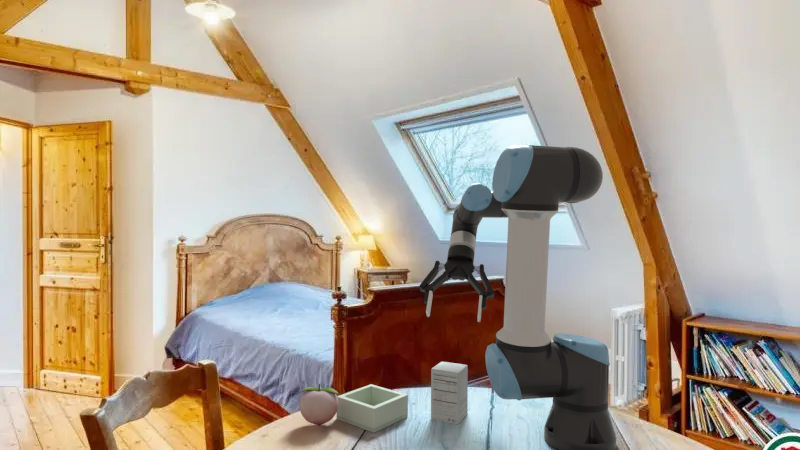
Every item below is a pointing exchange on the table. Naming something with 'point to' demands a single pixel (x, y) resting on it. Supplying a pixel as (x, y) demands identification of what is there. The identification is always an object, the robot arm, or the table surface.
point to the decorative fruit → (318, 404)
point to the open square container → (372, 407)
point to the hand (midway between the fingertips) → (453, 317)
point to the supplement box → (449, 392)
